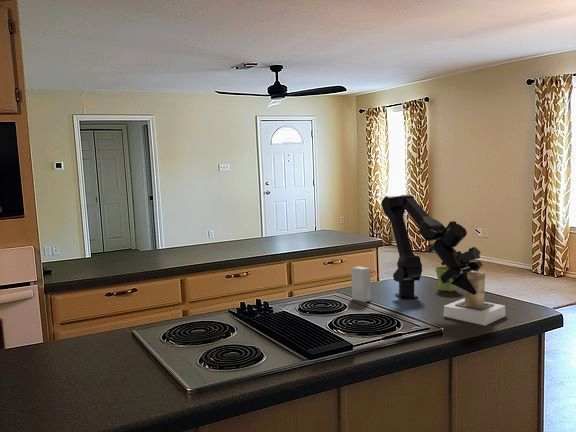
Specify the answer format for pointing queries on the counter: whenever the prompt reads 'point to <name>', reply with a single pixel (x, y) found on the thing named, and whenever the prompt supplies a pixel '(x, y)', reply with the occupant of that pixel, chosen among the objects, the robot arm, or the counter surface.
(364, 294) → the skincare box
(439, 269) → the plant pot
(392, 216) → the robot arm
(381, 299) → the counter surface
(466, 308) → the socket block
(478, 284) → the peg
